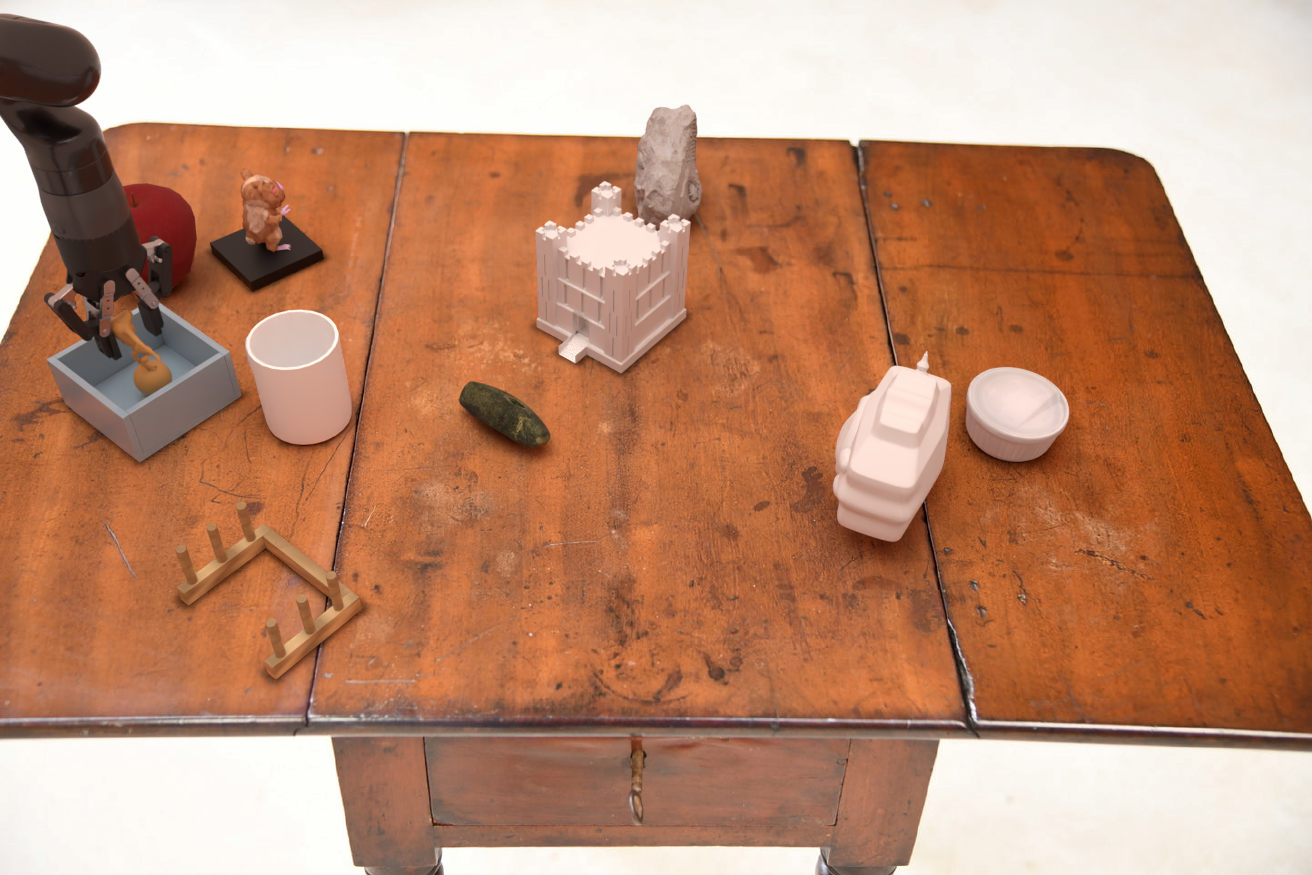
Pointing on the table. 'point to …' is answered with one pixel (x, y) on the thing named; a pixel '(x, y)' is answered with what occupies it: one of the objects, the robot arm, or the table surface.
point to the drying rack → (324, 581)
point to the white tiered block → (892, 451)
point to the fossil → (667, 167)
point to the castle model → (611, 281)
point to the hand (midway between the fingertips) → (133, 343)
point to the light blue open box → (132, 415)
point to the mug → (300, 376)
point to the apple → (164, 224)
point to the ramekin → (1014, 413)
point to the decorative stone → (504, 414)
